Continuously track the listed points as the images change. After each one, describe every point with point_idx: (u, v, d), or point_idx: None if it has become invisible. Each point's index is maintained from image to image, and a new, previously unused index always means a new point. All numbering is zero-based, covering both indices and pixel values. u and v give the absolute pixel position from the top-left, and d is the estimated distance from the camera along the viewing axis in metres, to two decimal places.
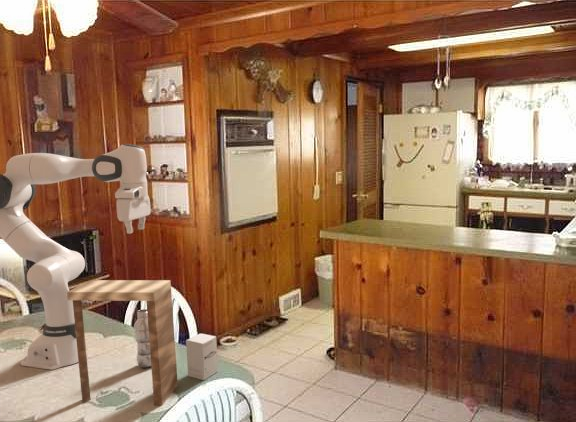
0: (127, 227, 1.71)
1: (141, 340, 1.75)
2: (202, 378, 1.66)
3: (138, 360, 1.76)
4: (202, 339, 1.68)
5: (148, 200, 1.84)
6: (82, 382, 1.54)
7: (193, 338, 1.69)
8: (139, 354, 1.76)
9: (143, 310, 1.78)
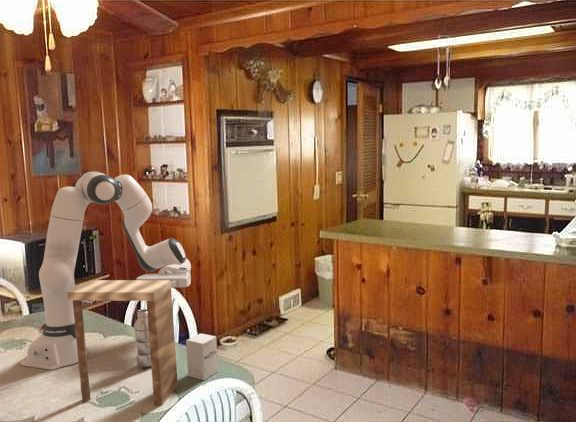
0: (172, 283, 1.89)
1: (141, 340, 1.75)
2: (202, 378, 1.66)
3: (138, 360, 1.76)
4: (202, 339, 1.68)
5: None
6: (82, 382, 1.54)
7: (193, 338, 1.69)
8: (139, 354, 1.76)
9: (143, 310, 1.78)
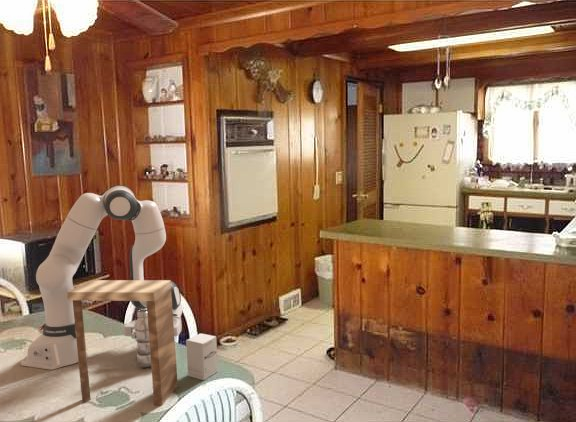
0: None
1: (141, 340, 1.75)
2: (202, 378, 1.66)
3: (138, 360, 1.76)
4: (202, 339, 1.68)
5: None
6: (82, 382, 1.54)
7: (193, 338, 1.69)
8: (139, 354, 1.76)
9: (143, 310, 1.78)
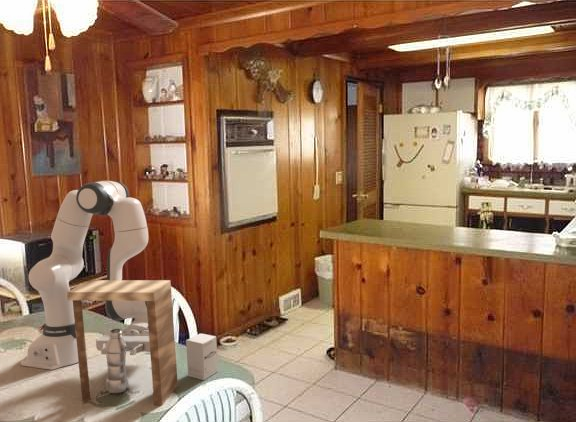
0: (137, 348, 1.59)
1: (111, 364, 1.57)
2: (202, 378, 1.66)
3: (107, 384, 1.58)
4: (202, 339, 1.68)
5: None
6: (82, 382, 1.54)
7: (193, 338, 1.69)
8: (108, 378, 1.58)
9: (117, 329, 1.59)
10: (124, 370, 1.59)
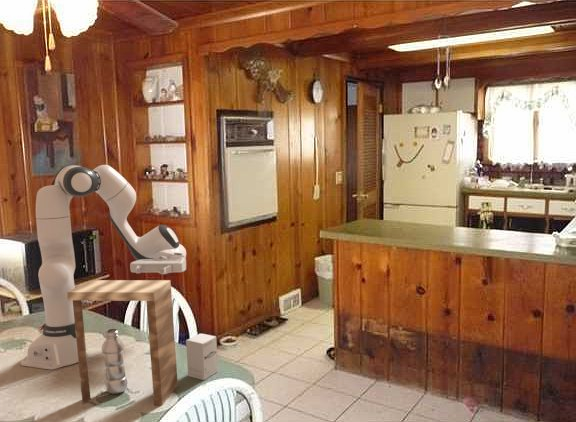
0: (167, 268, 1.84)
1: (109, 364, 1.57)
2: (202, 378, 1.66)
3: (106, 385, 1.59)
4: (202, 339, 1.68)
5: None
6: (82, 382, 1.54)
7: (193, 338, 1.69)
8: (107, 379, 1.58)
9: (113, 330, 1.60)
10: (122, 370, 1.59)
